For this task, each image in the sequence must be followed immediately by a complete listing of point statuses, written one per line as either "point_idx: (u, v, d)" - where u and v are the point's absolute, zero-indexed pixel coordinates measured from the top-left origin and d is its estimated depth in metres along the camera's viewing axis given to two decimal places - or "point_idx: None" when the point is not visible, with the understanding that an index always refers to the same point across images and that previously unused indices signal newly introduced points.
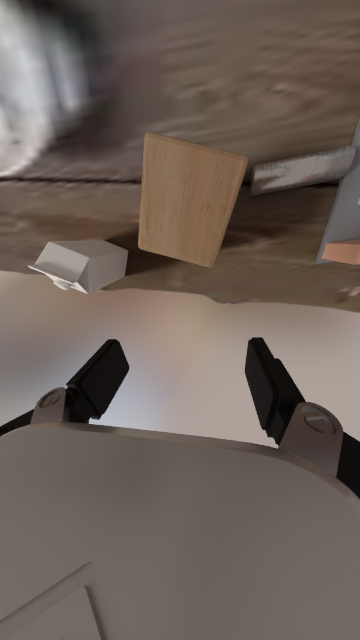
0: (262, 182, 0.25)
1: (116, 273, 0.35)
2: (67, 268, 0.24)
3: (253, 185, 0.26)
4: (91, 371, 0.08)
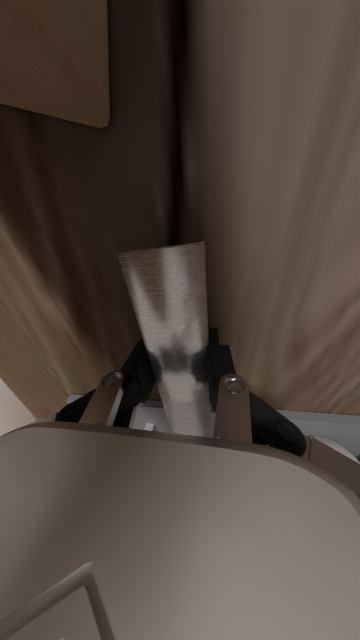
0: (138, 287, 0.06)
1: None
2: None
3: (135, 252, 0.06)
4: (141, 356, 0.09)
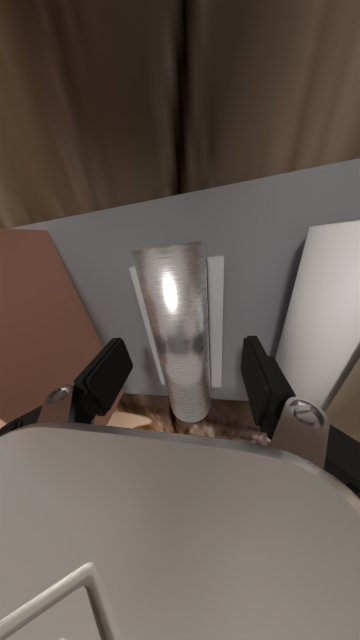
0: (149, 278, 0.07)
1: None
2: None
3: (146, 248, 0.07)
4: (97, 368, 0.08)
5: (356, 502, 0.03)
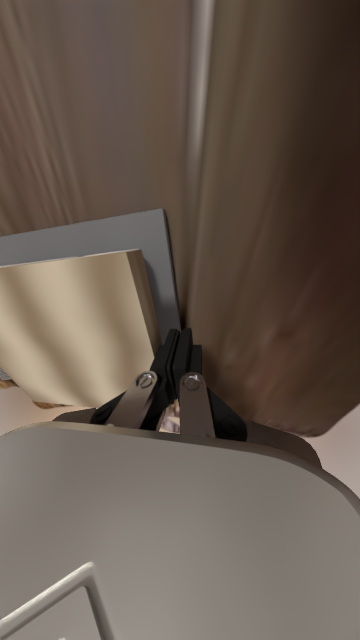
0: None
1: None
2: None
3: None
4: (171, 356, 0.08)
5: (356, 502, 0.03)
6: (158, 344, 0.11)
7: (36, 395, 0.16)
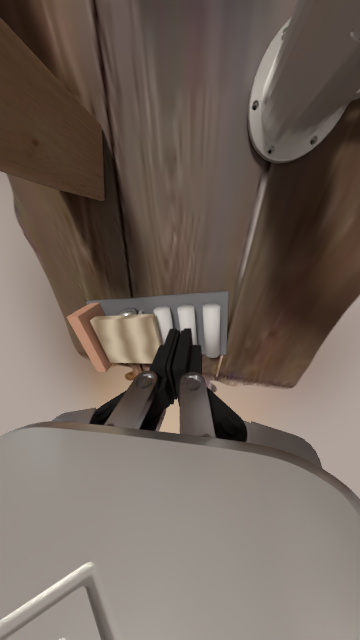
0: None
1: None
2: None
3: (122, 312, 0.37)
4: (171, 356, 0.08)
5: (356, 502, 0.03)
6: (159, 338, 0.36)
7: (112, 359, 0.41)
